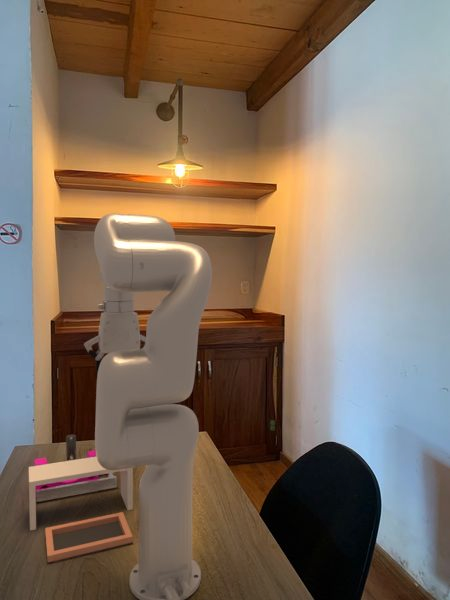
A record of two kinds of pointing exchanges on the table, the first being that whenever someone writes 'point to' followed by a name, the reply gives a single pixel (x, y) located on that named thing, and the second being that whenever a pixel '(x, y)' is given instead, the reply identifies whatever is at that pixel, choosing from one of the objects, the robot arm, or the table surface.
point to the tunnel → (74, 471)
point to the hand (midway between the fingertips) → (119, 373)
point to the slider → (75, 487)
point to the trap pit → (87, 537)
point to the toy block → (44, 461)
